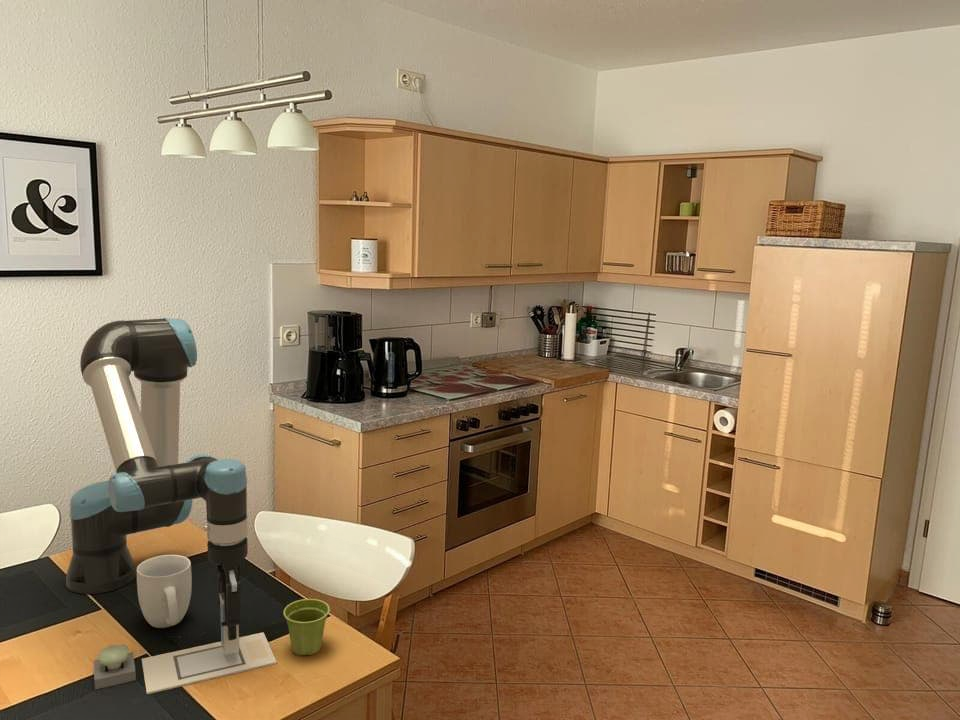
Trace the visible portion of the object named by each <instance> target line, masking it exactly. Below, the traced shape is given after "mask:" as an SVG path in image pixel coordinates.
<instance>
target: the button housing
mask: <svg viewBox="0 0 960 720" xmlns="http://www.w3.org/2000/svg"><path fill="white" fill-rule="evenodd" d="M134 656H135V655H134V651H129V657H128V658H127V659H126V660H125V661H124V662H122V663H121V669H117V670H112V671H108V669H107V666H104V665H101V664H100V663H99V658H97V659H93V682H94V690H95V691H96V690H99V689H104V688H108V687H112V686H117V685H121V684H126V683H129V682H133V681H134V680H135V681H137V674H136V665H135V658H134Z"/></svg>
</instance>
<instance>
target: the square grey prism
mask: <svg viewBox="0 0 960 720" xmlns="http://www.w3.org/2000/svg"><path fill="white" fill-rule="evenodd" d="M219 612H220V616H219V617H220V623H221V622H225V611H224V592H223V593H220V606H219ZM220 640H221V641H220V642H221V644H222V647H223V650H224V626H221V625H220Z"/></svg>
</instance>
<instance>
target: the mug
mask: <svg viewBox="0 0 960 720" xmlns="http://www.w3.org/2000/svg"><path fill="white" fill-rule="evenodd" d="M192 584H193V583H192V563H191V560H190V559H189V558H188V557H186V556H184V555H180V554H163V555H162V554H161V555H158V556H154V557H151V558H148V559H144V561H141V563H139V564H138V566H136V587H137V588H136V589H137V597H138V598H137V600H138V603H139V607H140V610H141V613H142V615H143V617H144V619H145V620H146V622H147V623H148V624H149V626H151V627H153V628H157V629H165V628H170V627H171V628H172V627H173V626H176V625H178V624H179V623H180V622H182V620H183V619H184V617H185V616H186V613H187V611H188V609H189V606H190V601H191V596H192V588H193V587H192Z"/></svg>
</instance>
